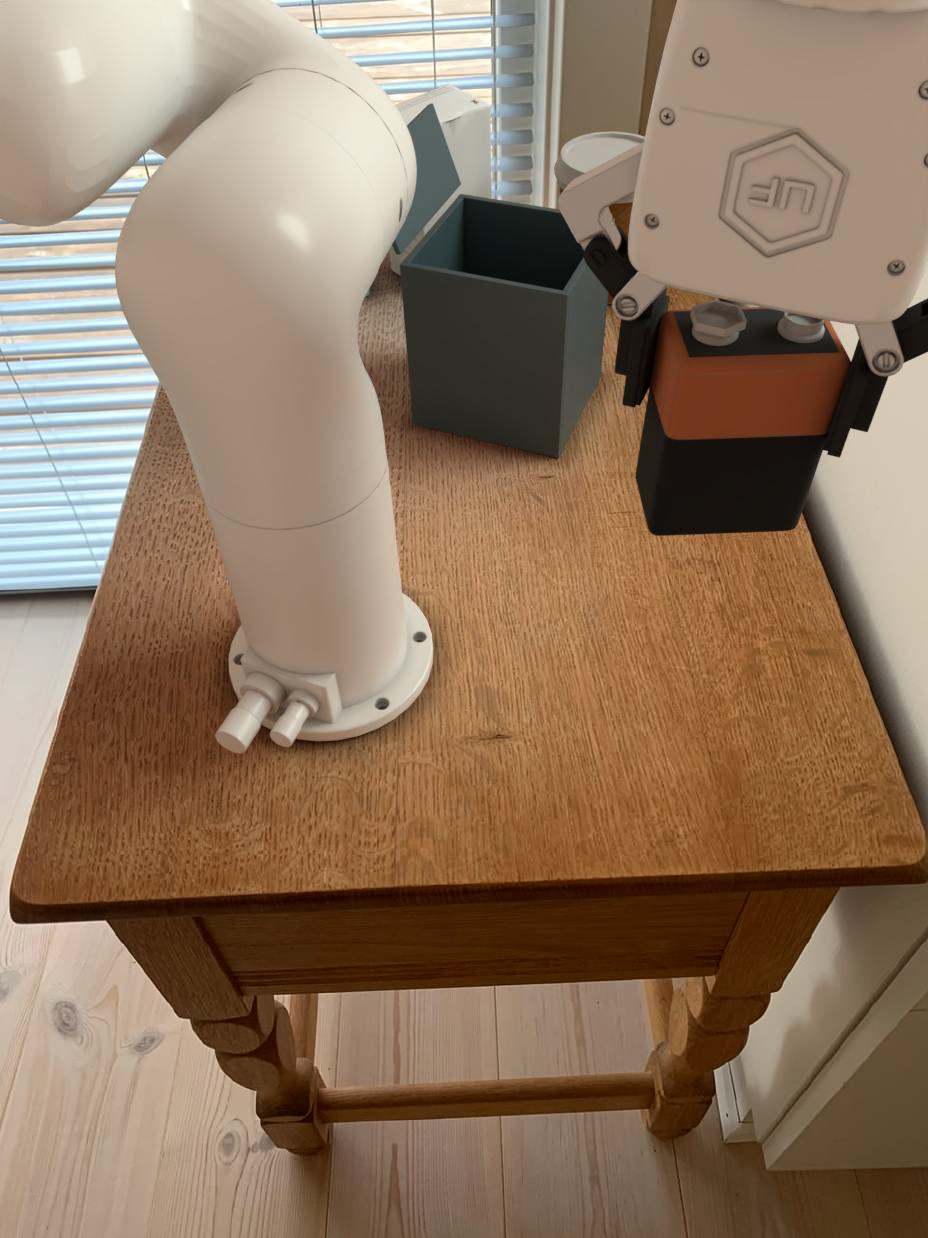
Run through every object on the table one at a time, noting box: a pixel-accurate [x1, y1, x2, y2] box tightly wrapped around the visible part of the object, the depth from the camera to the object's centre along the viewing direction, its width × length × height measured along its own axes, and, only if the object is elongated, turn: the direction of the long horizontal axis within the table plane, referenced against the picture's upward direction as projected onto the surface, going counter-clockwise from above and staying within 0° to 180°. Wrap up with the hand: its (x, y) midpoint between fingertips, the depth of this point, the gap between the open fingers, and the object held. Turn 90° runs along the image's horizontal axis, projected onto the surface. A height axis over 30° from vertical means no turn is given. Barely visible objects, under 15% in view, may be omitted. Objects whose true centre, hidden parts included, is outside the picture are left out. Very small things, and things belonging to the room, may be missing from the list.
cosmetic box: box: [388, 83, 493, 277], centre depth 87 cm, size 8×6×15 cm
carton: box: [400, 194, 615, 459], centre depth 74 cm, size 12×11×14 cm
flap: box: [392, 103, 461, 255], centre depth 68 cm, size 6×11×1 cm
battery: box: [635, 299, 852, 537], centre depth 42 cm, size 4×7×10 cm, turn 93°
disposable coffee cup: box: [553, 131, 651, 305], centre depth 85 cm, size 10×10×12 cm
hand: (736, 410), depth 41 cm, fingers closed on battery, 7 cm apart
